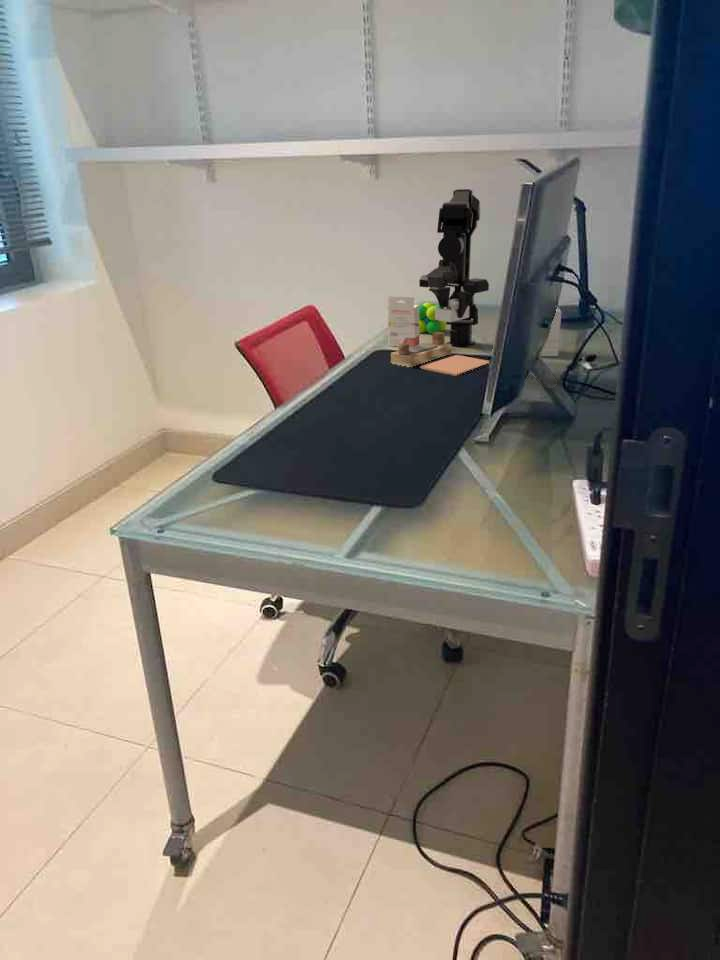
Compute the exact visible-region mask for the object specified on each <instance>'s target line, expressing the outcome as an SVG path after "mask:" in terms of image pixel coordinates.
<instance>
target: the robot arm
mask: <svg viewBox="0 0 720 960" xmlns="http://www.w3.org/2000/svg"><path fill="white" fill-rule="evenodd" d="M480 220H481V202H480V200H479V198H477V197H476V196H474V193H473V190H472V189H469V188H468V189H466V188H465V189H464V188H463V189H462V188H461V189H460V188H459V189H454V190H453V194H452V198H451V199H450V200H449V201H448V202H444V203H443V204H442V206H441V207H440V208H439V211H438V220H437V221H438V222H437V234H442V235H443V237H442V238H441V239H440V241H439V242H438V246H437V251H438V254H439V256H440V257H442V259H439V260H438V266H437V268H434V269H432V270H431V271H430V272H429V273H427V274H424V275H421V276H420V279H419V288H428V291H429V292H431V293H433V294H434V295H435V297H436V299H437V302H438V304H439V305H440V307H443V306H448V300H451V299H459V309H458V313H459V318H462V317H463V315H464V313H465V311H466V309H467V307H468V306H469V318H465V319H461V320H457V321H453V322H446V326H449V325H450V330H449V341H448V342H447V341H446V342H445V343H446V344H451V346H454V347H460V348H466V347H468V346H472V345H475V344H476V341H473V340H472V332H473V331H472V330H473V329H472V328H473V326H476V325H478V324H479V309H478V307H477V304H476V303H475V294H478V293H479V294H480V293H483V292H487V291H489V290H490V289H489V287H490V286H489V285H490V284H489V281H488V279H486V278H477V277H476V278H475V277H474V278H471V277H470V274H471V254H472V253H471V252H472V251H471V250H472V249H471V248H472V236H473V234H474V233H475V231H476V230H477V228H478V221H480ZM470 278H471V279H470ZM451 287H452V288H454V290H453V291H452V293H450V292H451ZM450 294H451V295H450Z"/></svg>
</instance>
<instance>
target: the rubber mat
mask: <svg viewBox="0 0 720 960" xmlns="http://www.w3.org/2000/svg"><path fill="white" fill-rule="evenodd" d="M489 361H490V360H487V359H480V358H476V357H469V356H465V355H460V354H455V355H450V356H447V357H444V358H441V359H437V360H434V361H431V362H428V363H425V364H422V365H421V366H420V365H419V368H421V369H420V370H425V371H431V372H436V373H440V374H444V375H449V374H450V376H454V377H457V375H458V376H461V375H463V374H462V373H464V374H466V373H465V372H467V371H470V370H472V371H474V370H473V369H475V368H478V367H480V366H482V365H486V364H487V363H488V364H489ZM489 365H490V364H489ZM478 369H479V368H478ZM475 370H476V369H475ZM470 372H471V371H470ZM467 373H468V372H467ZM460 374H461V375H460Z"/></svg>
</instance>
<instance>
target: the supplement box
mask: <svg viewBox="0 0 720 960" xmlns="http://www.w3.org/2000/svg"><path fill="white" fill-rule="evenodd" d="M556 307H557V309H556V313H555V316H554V319H553V321H552V324H551V329H550V333H549V337H548V339H547V342H546V344H545V347H544V349H543V352H542V356H541V357H559V351H560V350H559V349H560V348H559V347H560V336H561V324H562V323H561V322H562V311H561V309H560V308H559V307H558V306H556Z"/></svg>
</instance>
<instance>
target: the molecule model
mask: <svg viewBox="0 0 720 960" xmlns="http://www.w3.org/2000/svg"><path fill="white" fill-rule="evenodd" d="M418 305H419V334H422V333H425V332H426V331H427V332H428V334H430V335H432V334H433V333H436V332H444V330H446V328H447V323H446V321H439V320H435V308H439V307H440V305H439V303H437V304H435V305H433V304H432V303H430V302H425V303H423V304H418Z"/></svg>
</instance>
